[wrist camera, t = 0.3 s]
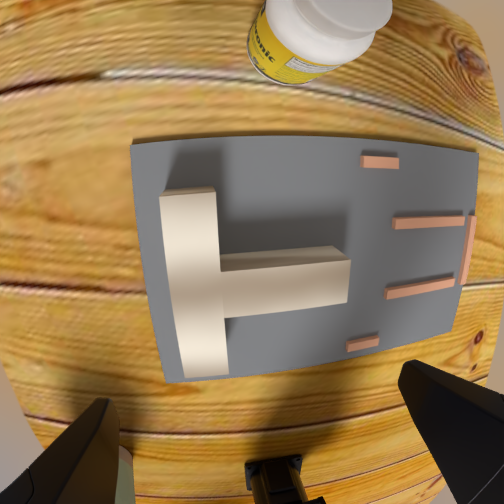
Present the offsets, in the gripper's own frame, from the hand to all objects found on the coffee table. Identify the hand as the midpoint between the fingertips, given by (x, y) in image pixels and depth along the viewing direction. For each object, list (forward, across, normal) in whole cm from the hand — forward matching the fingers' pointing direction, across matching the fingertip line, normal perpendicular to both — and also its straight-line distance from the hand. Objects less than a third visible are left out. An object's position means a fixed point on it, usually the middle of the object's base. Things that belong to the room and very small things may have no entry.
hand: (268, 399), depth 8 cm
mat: (+14, -8, +1) cm, 16 cm away
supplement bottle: (+14, -4, -14) cm, 20 cm away
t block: (+13, -2, +2) cm, 14 cm away
